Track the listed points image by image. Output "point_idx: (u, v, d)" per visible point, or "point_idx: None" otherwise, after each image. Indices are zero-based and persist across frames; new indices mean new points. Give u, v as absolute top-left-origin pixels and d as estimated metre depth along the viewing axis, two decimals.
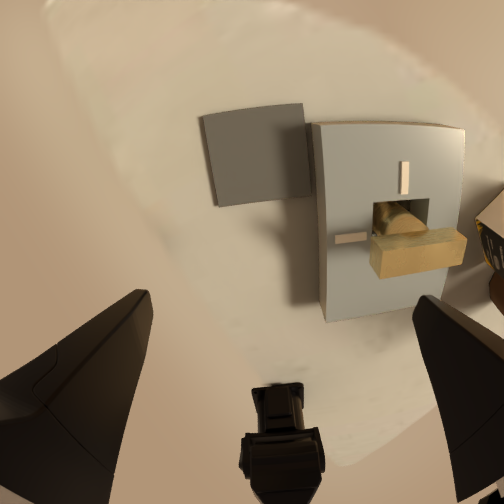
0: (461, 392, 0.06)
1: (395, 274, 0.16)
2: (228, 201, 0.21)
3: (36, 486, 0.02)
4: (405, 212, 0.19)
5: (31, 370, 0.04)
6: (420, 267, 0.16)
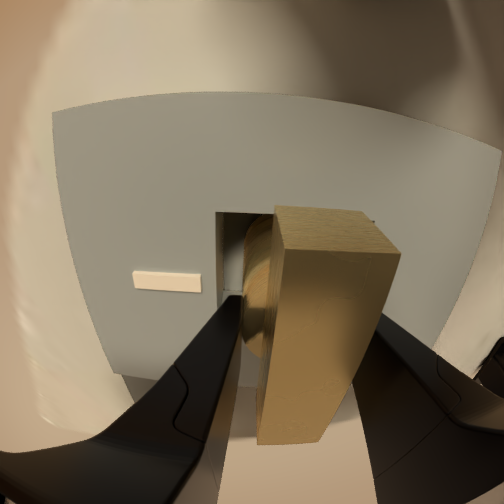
0: (381, 413, 0.06)
1: (319, 428, 0.07)
2: None
3: None
4: (243, 282, 0.09)
5: (158, 401, 0.04)
6: (330, 395, 0.06)
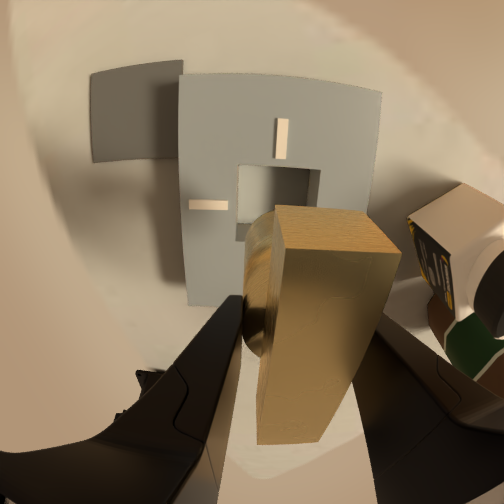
0: (381, 412, 0.06)
1: (320, 428, 0.07)
2: (101, 157, 0.18)
3: None
4: (243, 281, 0.09)
5: (158, 402, 0.04)
6: (330, 395, 0.06)
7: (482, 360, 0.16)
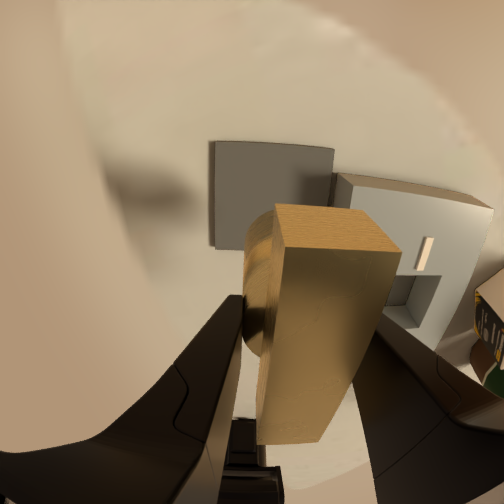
0: (381, 413, 0.06)
1: (319, 428, 0.07)
2: (227, 245, 0.19)
3: None
4: (243, 281, 0.09)
5: (158, 401, 0.04)
6: (330, 395, 0.06)
7: None
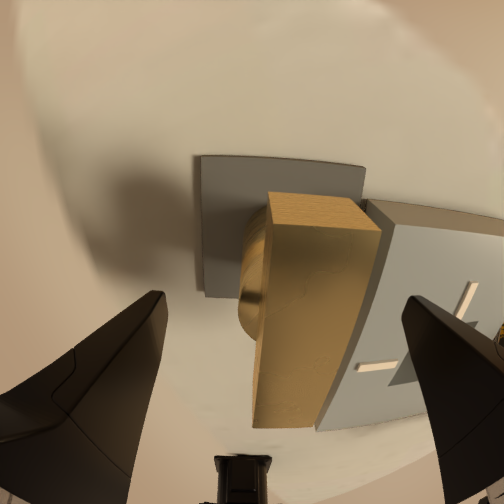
0: (449, 396, 0.06)
1: (313, 411, 0.07)
2: (220, 292, 0.14)
3: (57, 497, 0.02)
4: (241, 269, 0.10)
5: (48, 376, 0.04)
6: (321, 374, 0.07)
7: None
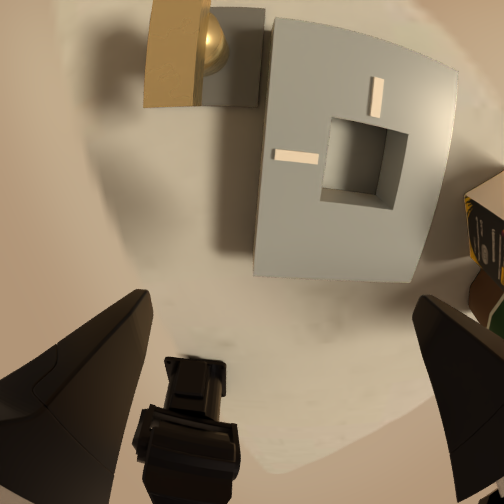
0: (461, 392, 0.06)
1: (188, 78, 0.09)
2: None
3: (36, 486, 0.02)
4: None
5: (31, 370, 0.04)
6: (187, 33, 0.08)
7: None
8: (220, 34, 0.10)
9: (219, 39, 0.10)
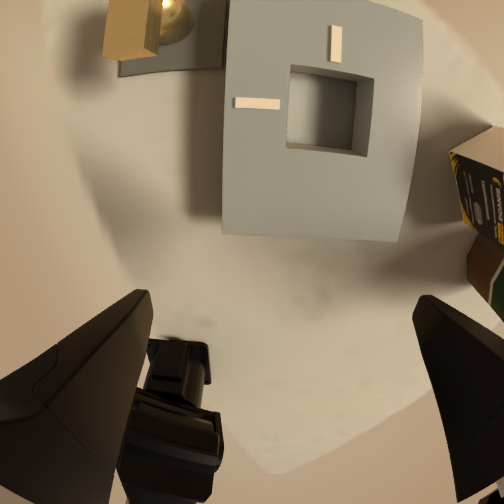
0: (461, 392, 0.06)
1: (141, 25, 0.08)
2: (130, 69, 0.15)
3: (36, 486, 0.02)
4: None
5: (31, 370, 0.04)
6: None
7: None
8: None
9: None
